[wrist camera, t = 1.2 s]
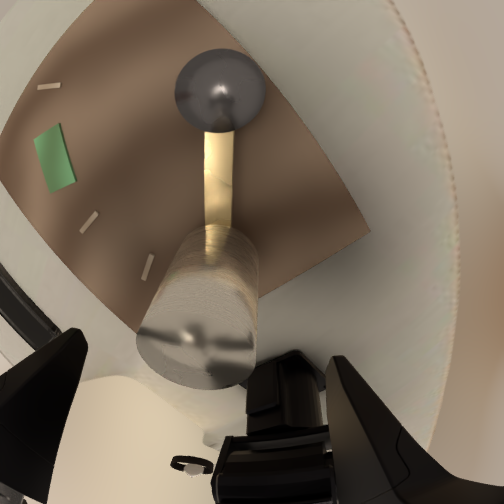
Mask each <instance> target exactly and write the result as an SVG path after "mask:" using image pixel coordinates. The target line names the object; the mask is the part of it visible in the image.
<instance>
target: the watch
mask: <svg viewBox="0 0 504 504" xmlns="http://www.w3.org/2000/svg"><path fill="white" fill-rule="evenodd" d="M177 462H183V463H189V464H187V465H183V464H179V463H177ZM170 466H171V467H172V468H174V469H176V470H179V471H183V472H186V473H187V475H189V476H191V477H196V476H199V475H201V474H211V473H213V466H214V465H213V463H212V462H210V461H208V460H206V459H202V458H198V457H195V456H174V457H173V459H172V461H171V464H170ZM202 466H205V467H202Z"/></svg>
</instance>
